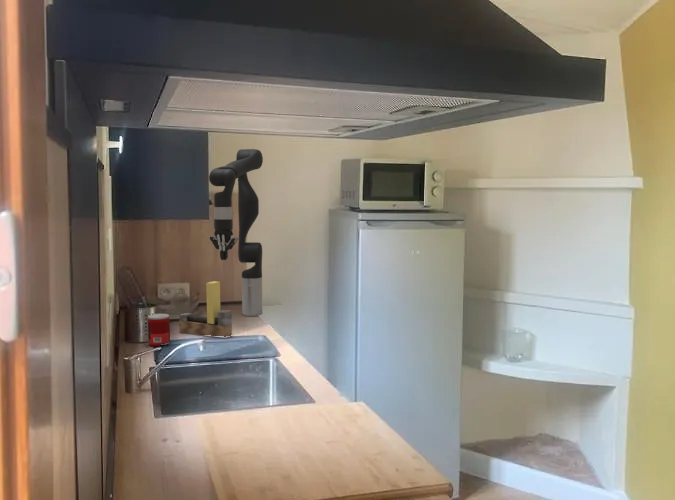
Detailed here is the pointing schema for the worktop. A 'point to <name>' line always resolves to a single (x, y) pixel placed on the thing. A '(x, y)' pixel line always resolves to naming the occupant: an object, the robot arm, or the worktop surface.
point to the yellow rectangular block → (213, 301)
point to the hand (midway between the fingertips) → (224, 259)
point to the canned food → (158, 329)
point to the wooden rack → (206, 324)
